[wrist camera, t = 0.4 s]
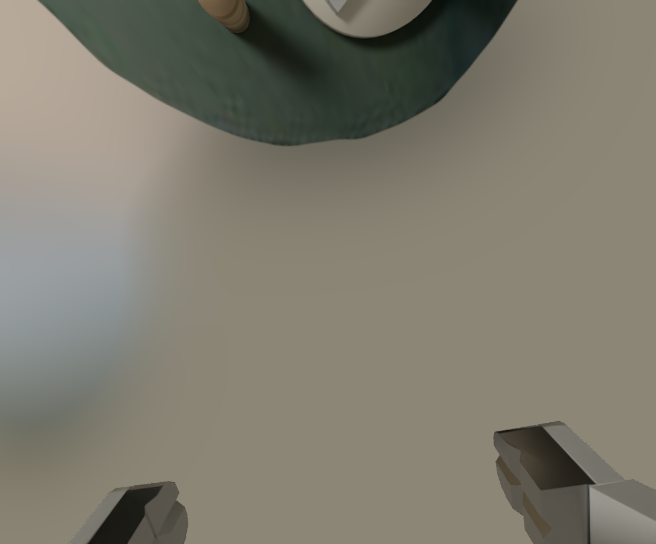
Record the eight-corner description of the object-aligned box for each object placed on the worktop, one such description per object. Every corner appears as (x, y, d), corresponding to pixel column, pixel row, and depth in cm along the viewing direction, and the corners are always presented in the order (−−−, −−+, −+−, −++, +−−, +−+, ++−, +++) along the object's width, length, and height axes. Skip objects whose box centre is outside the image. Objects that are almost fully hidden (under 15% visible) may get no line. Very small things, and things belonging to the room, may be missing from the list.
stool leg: (213, 13, 41) (185, -12, 30) (231, -14, 40) (209, -51, 29) (237, 40, 43) (220, 26, 32) (256, 15, 42) (244, -9, 31)
